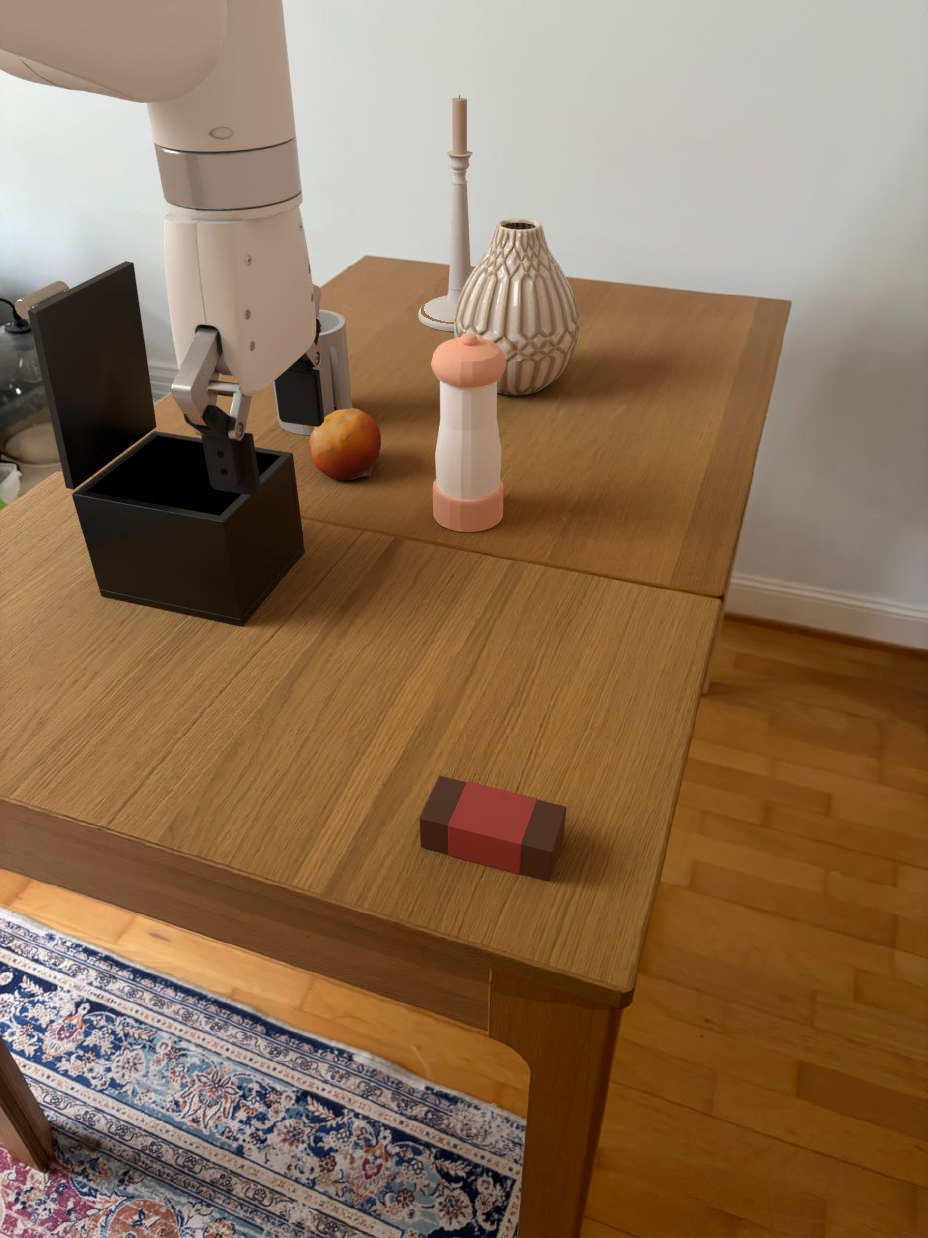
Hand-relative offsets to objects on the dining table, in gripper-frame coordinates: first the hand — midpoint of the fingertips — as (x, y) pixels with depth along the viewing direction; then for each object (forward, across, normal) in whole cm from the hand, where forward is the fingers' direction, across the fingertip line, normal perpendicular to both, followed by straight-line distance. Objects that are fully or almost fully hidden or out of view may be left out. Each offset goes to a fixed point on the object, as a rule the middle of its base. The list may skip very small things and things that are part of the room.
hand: (271, 454), depth 62 cm
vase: (+22, -65, 0) cm, 69 cm away
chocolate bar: (+22, +10, +18) cm, 30 cm away
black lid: (+3, -14, -23) cm, 27 cm away
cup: (+22, -47, -20) cm, 56 cm away
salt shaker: (+22, -31, +4) cm, 38 cm away
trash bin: (+22, -14, -16) cm, 31 cm away
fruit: (+22, -36, -11) cm, 44 cm away
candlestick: (+22, -86, -14) cm, 90 cm away
